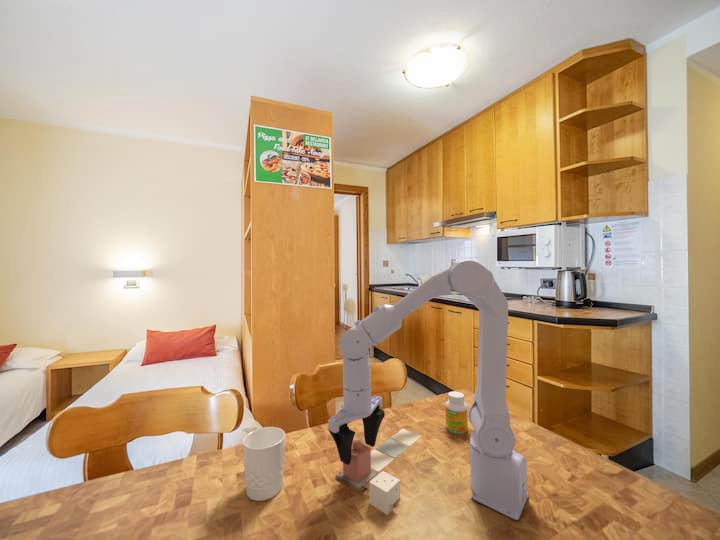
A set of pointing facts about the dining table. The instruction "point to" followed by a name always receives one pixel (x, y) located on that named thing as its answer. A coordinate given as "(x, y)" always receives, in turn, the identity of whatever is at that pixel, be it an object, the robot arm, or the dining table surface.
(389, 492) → the die
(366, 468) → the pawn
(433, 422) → the dining table surface
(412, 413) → the dining table surface
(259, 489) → the white cup
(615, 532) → the dining table surface
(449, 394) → the supplement bottle
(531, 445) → the dining table surface
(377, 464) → the track
